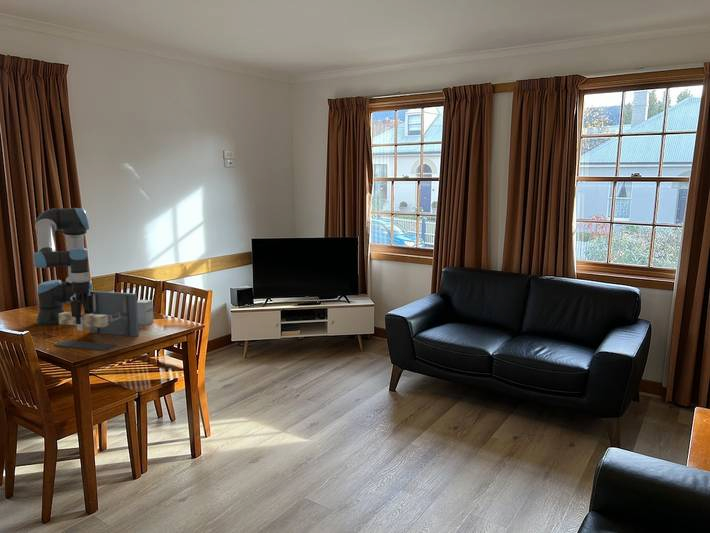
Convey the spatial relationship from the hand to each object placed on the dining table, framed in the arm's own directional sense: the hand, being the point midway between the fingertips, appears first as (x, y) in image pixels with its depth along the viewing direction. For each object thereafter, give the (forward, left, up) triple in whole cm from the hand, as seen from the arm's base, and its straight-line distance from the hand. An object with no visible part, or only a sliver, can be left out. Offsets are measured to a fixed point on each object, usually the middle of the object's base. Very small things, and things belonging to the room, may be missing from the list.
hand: (83, 328), depth 250 cm
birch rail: (0, 0, +2) cm, 2 cm away
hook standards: (0, +13, -8) cm, 16 cm away
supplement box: (+2, +44, -9) cm, 45 cm away
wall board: (0, +21, -8) cm, 23 cm away
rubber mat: (0, 0, -8) cm, 8 cm away
